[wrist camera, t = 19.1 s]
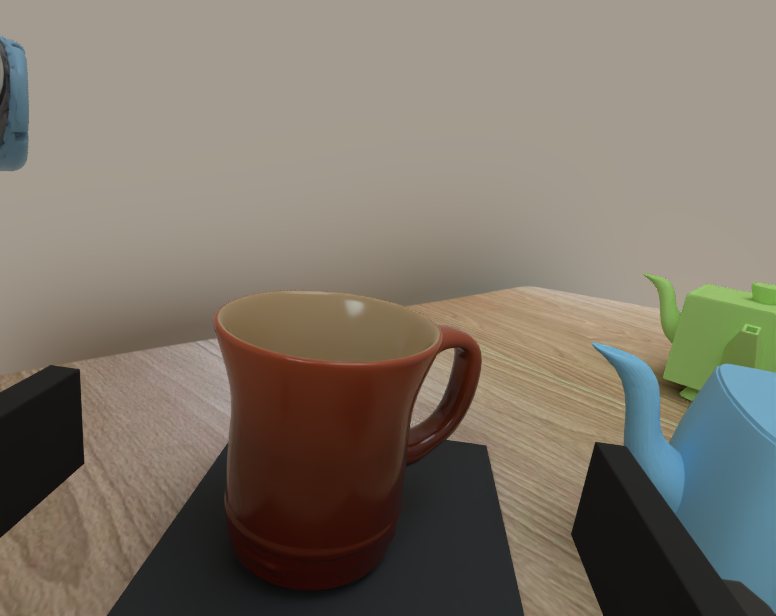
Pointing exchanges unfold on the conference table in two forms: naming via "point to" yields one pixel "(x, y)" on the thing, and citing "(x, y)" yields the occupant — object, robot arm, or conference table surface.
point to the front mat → (369, 593)
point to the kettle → (716, 331)
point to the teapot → (713, 464)
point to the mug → (328, 427)
